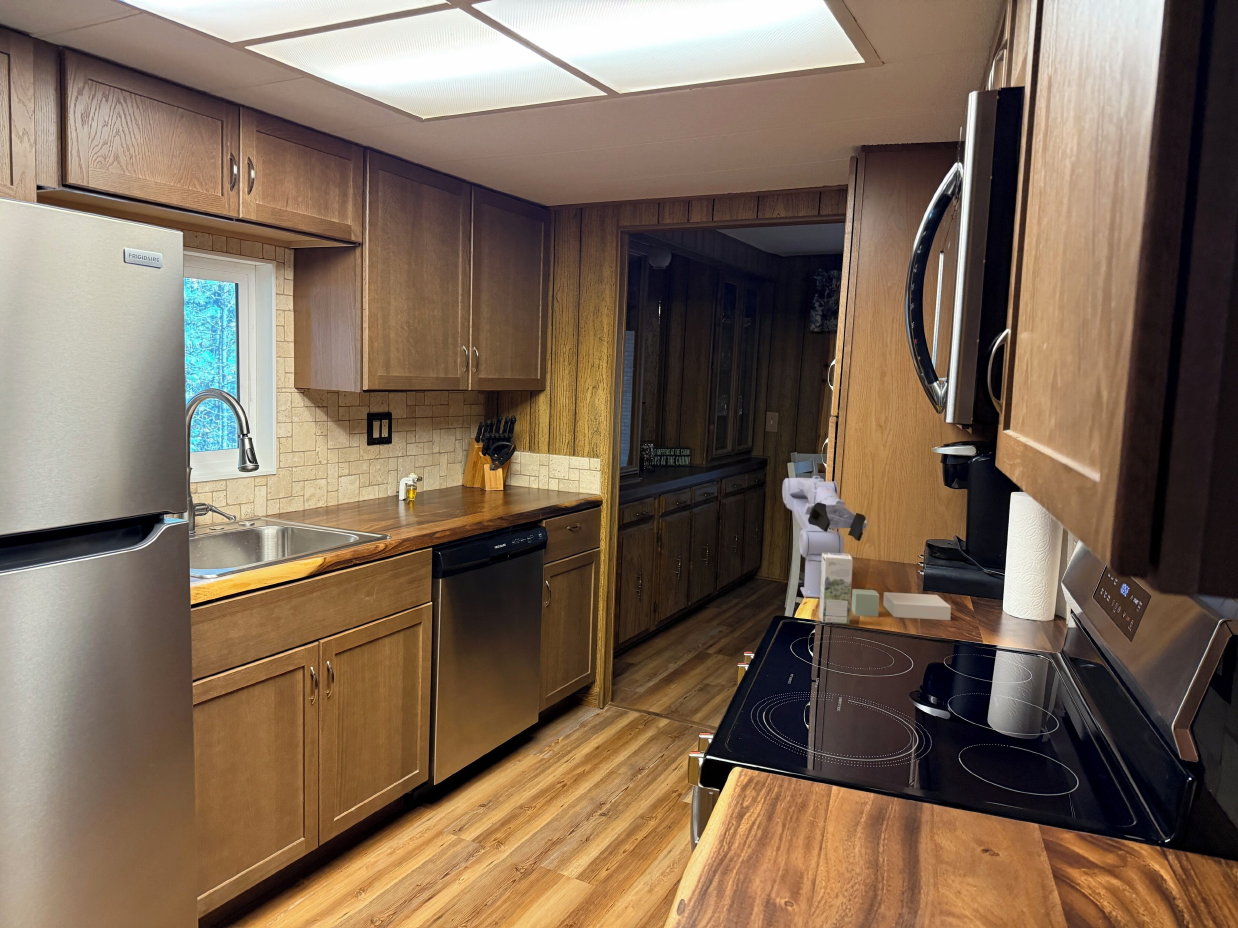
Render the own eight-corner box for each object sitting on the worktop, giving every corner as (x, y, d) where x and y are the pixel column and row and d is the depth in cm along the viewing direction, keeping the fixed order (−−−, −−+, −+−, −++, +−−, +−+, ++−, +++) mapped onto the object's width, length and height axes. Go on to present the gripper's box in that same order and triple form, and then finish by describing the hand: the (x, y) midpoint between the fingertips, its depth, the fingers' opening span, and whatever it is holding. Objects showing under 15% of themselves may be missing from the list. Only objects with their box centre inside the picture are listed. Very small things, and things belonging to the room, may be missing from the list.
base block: (883, 604, 200) (883, 592, 200) (936, 607, 199) (936, 594, 199) (894, 616, 188) (894, 603, 188) (950, 620, 187) (951, 606, 187)
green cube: (851, 610, 194) (852, 588, 193) (873, 611, 193) (875, 590, 193) (855, 615, 189) (856, 593, 188) (878, 617, 188) (879, 594, 188)
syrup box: (845, 618, 185) (848, 552, 184) (849, 625, 180) (853, 557, 179) (818, 617, 186) (821, 551, 185) (822, 623, 180) (825, 555, 179)
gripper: (807, 484, 198) (819, 507, 185) (865, 501, 199) (881, 525, 186) (796, 511, 200) (807, 535, 187) (854, 527, 201) (869, 552, 188)
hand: (843, 532), depth 187 cm, fingers open, 7 cm apart
